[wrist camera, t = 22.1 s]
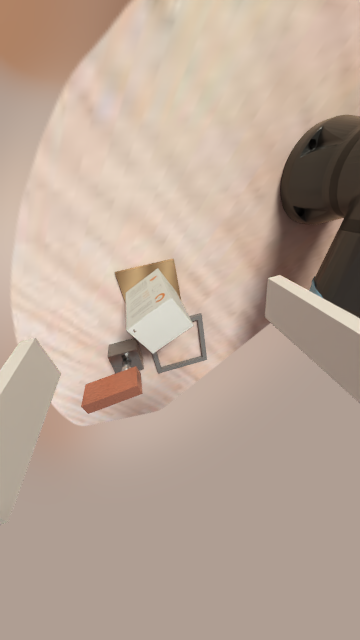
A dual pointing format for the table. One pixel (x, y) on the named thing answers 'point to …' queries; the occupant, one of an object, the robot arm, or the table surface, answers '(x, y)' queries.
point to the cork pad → (137, 274)
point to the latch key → (112, 388)
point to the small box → (155, 312)
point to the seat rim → (190, 361)
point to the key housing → (125, 354)
